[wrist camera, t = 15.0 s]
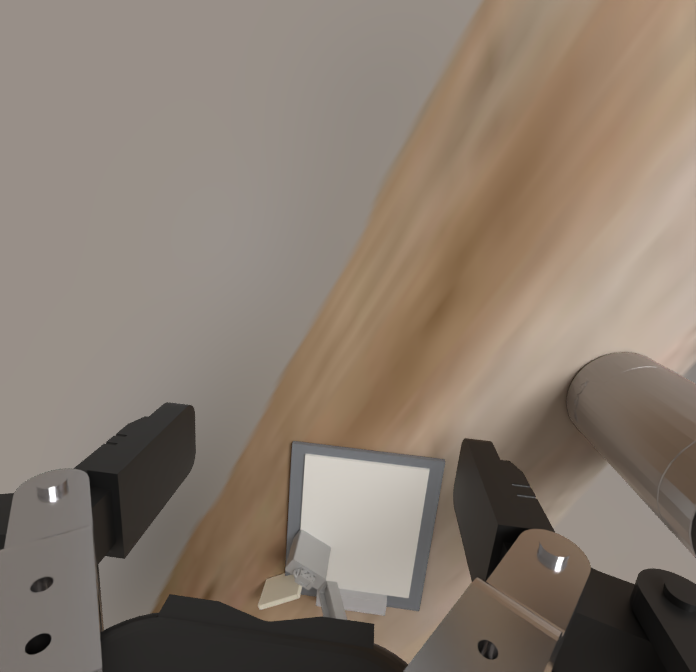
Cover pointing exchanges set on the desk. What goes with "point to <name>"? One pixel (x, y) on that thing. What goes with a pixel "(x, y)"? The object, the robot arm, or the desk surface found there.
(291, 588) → the cream rectangular slab
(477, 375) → the desk surface
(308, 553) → the lighter
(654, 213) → the desk surface
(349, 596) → the clipboard
